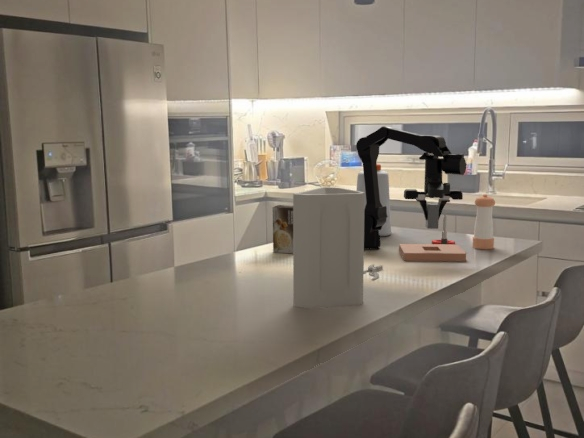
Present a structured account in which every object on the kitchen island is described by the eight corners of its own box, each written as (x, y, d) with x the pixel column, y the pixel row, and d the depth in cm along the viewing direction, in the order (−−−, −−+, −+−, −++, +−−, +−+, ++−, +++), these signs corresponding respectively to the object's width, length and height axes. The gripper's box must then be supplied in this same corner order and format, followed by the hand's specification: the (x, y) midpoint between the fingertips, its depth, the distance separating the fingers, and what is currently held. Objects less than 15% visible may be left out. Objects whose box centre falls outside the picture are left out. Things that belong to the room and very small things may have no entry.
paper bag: (348, 313, 158) (349, 197, 154) (292, 306, 165) (292, 194, 160) (374, 294, 175) (375, 189, 171) (322, 288, 182) (323, 186, 177)
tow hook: (431, 242, 252) (432, 245, 243) (432, 208, 251) (433, 210, 242) (453, 242, 251) (455, 246, 242) (454, 209, 250) (457, 211, 240)
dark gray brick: (427, 228, 221) (428, 204, 219) (425, 226, 226) (426, 202, 224) (438, 228, 220) (439, 204, 219) (435, 226, 225) (436, 202, 224)
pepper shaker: (496, 249, 236) (498, 195, 233) (475, 249, 236) (477, 195, 233) (490, 245, 243) (492, 193, 240) (470, 245, 243) (472, 193, 240)
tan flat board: (404, 260, 217) (404, 253, 217) (398, 250, 233) (399, 243, 233) (465, 261, 216) (466, 253, 216) (456, 251, 232) (456, 244, 232)
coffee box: (303, 250, 233) (303, 205, 231) (296, 254, 227) (296, 208, 225) (279, 249, 237) (279, 204, 234) (272, 252, 231) (271, 206, 228)
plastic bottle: (354, 229, 277) (355, 163, 273) (390, 230, 275) (392, 163, 271) (352, 236, 263) (353, 165, 258) (391, 237, 260) (392, 165, 256)
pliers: (342, 272, 195) (362, 262, 208) (342, 277, 195) (362, 267, 208) (373, 276, 190) (392, 266, 203) (373, 281, 191) (392, 271, 204)
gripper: (408, 175, 213) (406, 223, 215) (466, 175, 212) (464, 224, 214) (404, 172, 224) (403, 218, 226) (460, 173, 223) (458, 218, 225)
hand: (432, 219), depth 223 cm, fingers closed on dark gray brick, 3 cm apart
